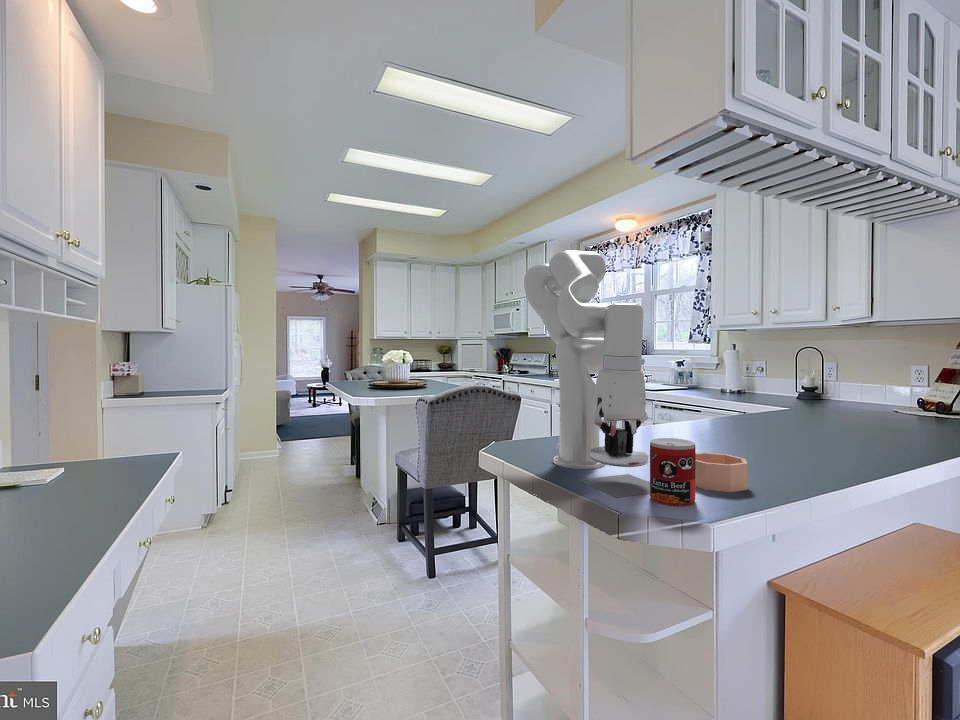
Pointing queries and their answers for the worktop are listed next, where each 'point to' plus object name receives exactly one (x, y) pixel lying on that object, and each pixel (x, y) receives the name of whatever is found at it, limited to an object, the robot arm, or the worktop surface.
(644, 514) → the worktop surface
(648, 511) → the worktop surface
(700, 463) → the bowl
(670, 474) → the canned food
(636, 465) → the lid
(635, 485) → the plate
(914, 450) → the worktop surface
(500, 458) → the worktop surface
